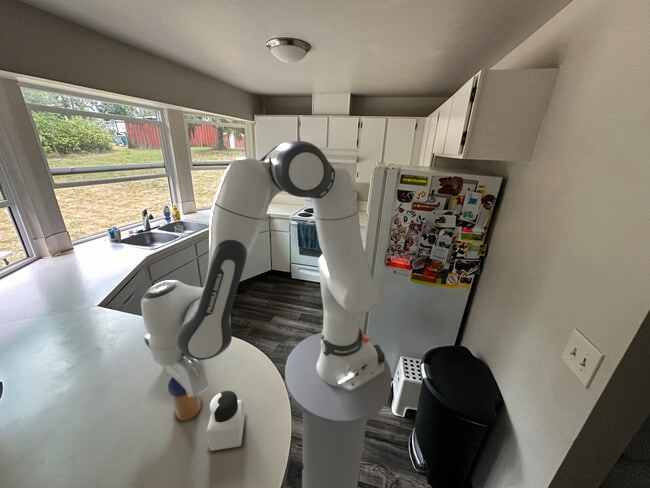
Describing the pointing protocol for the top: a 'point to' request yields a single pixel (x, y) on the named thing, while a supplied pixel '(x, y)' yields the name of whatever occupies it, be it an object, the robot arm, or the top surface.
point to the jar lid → (175, 388)
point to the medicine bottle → (225, 421)
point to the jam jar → (186, 406)
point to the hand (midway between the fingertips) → (182, 386)
